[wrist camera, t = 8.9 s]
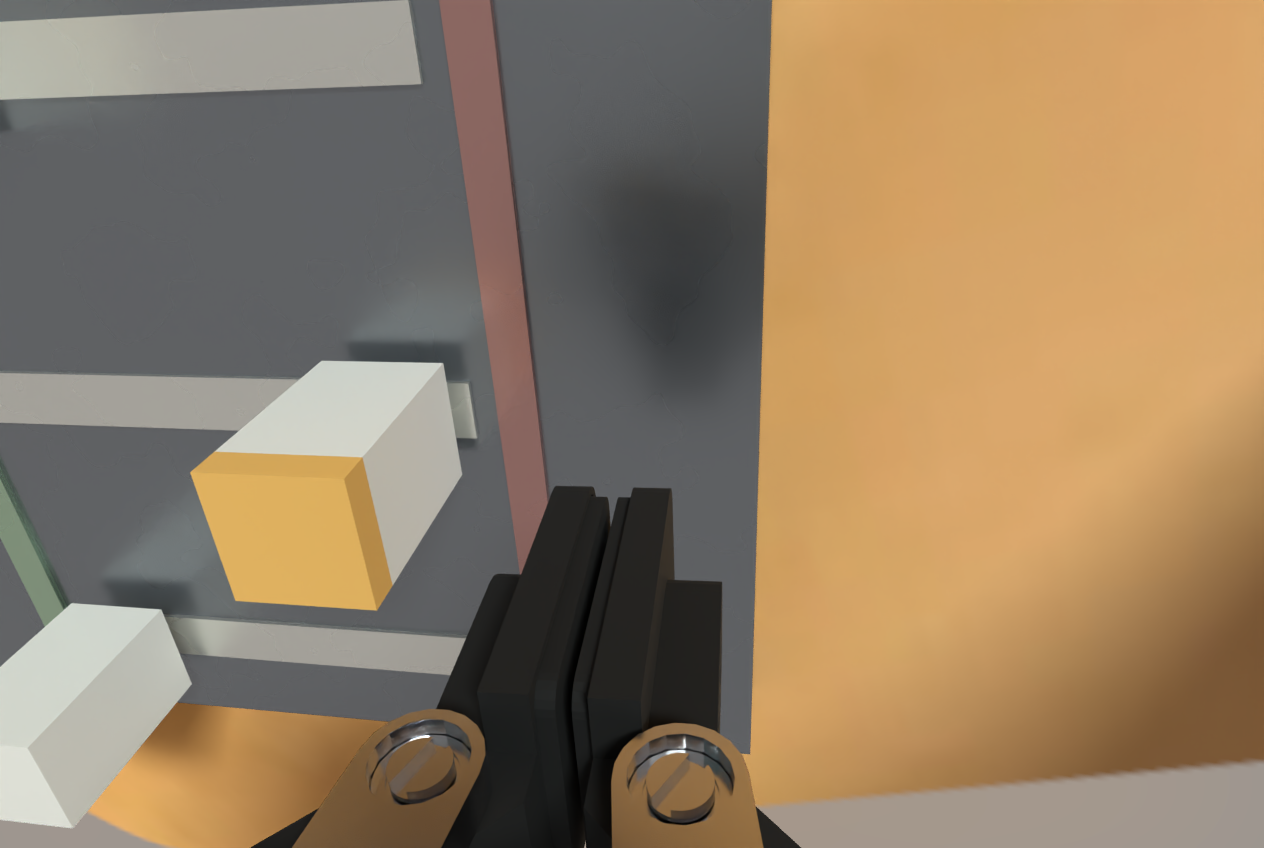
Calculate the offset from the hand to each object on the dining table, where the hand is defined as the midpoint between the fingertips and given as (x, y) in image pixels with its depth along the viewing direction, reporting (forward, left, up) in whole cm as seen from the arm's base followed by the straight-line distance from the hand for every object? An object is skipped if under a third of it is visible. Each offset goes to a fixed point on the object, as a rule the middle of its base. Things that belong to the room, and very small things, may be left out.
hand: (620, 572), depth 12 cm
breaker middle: (+5, 0, -4) cm, 6 cm away
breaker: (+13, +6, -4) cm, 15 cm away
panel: (+9, 0, -6) cm, 11 cm away
